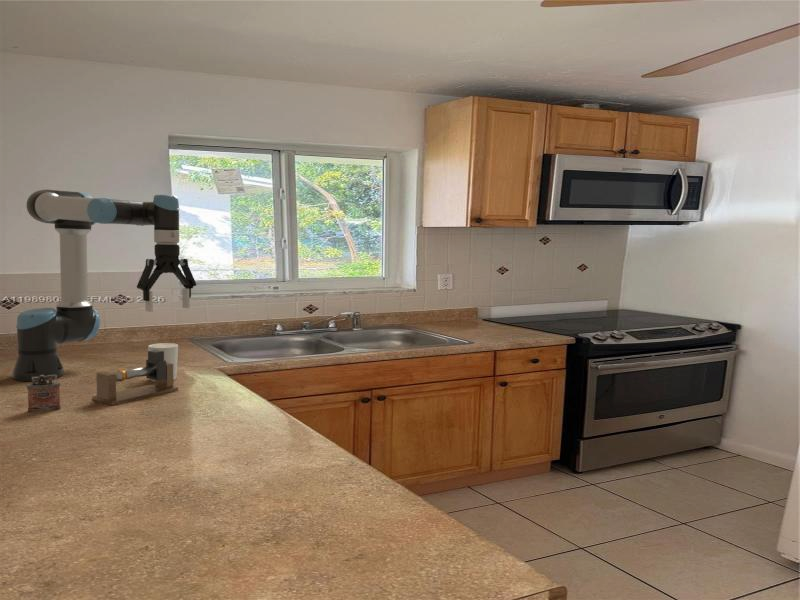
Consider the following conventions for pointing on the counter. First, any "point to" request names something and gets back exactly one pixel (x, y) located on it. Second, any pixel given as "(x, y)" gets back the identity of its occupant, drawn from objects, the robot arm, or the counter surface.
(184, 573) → the counter surface
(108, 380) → the pipe rig
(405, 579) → the counter surface
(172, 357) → the candle holder
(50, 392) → the lighter
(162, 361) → the collar
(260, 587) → the counter surface
